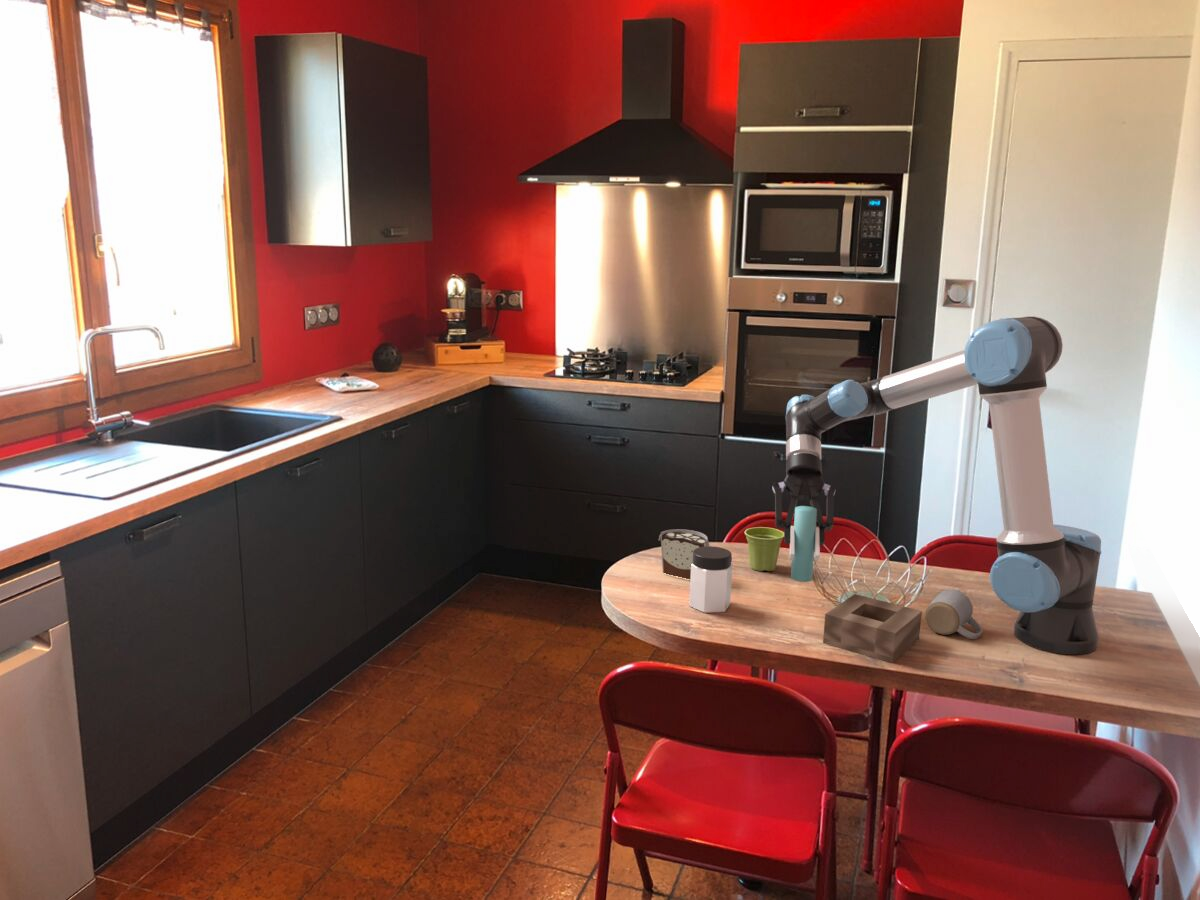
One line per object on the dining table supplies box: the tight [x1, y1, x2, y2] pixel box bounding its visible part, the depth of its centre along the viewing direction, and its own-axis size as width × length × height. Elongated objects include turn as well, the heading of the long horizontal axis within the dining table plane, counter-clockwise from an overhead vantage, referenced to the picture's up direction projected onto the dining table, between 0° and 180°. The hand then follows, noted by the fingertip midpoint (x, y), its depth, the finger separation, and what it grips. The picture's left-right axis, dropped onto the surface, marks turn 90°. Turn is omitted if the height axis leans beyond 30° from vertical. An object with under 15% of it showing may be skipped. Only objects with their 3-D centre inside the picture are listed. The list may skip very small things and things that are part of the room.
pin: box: [790, 505, 817, 583], centre depth 204 cm, size 4×4×15 cm
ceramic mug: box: [924, 588, 983, 640], centre depth 199 cm, size 11×8×8 cm
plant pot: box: [744, 526, 784, 572], centre depth 234 cm, size 9×9×9 cm
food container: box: [658, 528, 710, 579], centre depth 228 cm, size 12×6×10 cm, turn 58°
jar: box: [688, 545, 733, 614], centre depth 209 cm, size 9×8×12 cm
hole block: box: [822, 593, 923, 664], centre depth 194 cm, size 14×14×6 cm
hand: (804, 557), depth 201 cm, fingers closed on pin, 4 cm apart
